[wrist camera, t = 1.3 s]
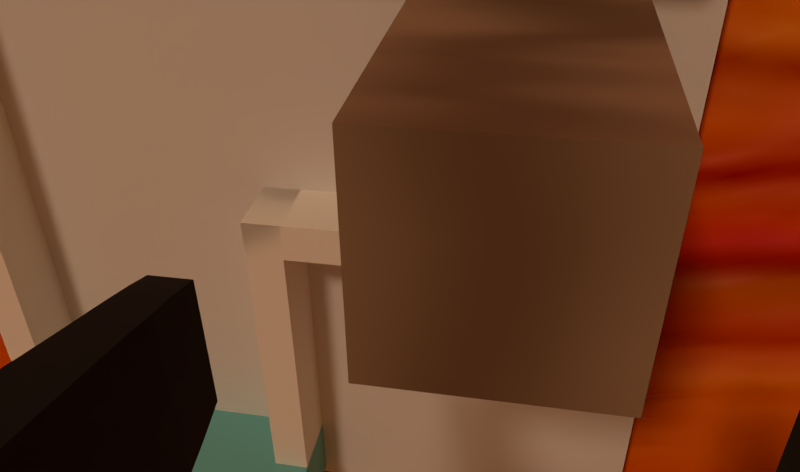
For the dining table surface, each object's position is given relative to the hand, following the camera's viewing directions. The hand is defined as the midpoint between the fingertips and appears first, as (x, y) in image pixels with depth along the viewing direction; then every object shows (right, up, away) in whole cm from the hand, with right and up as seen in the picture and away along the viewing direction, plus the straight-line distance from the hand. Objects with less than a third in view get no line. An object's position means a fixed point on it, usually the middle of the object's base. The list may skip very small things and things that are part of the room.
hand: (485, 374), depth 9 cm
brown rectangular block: (+2, +5, +8) cm, 10 cm away
